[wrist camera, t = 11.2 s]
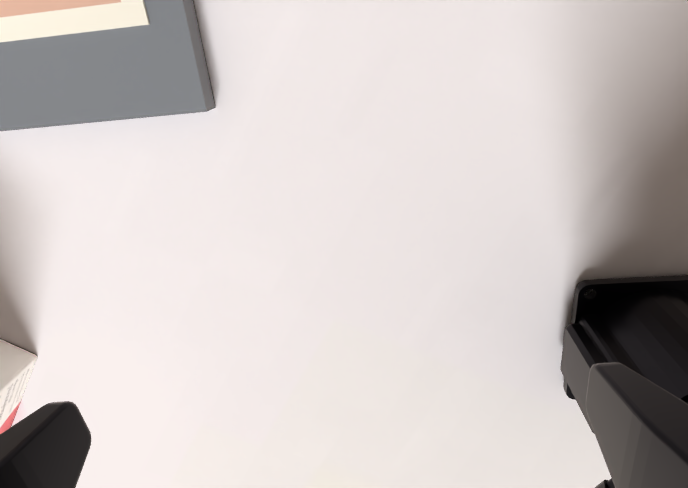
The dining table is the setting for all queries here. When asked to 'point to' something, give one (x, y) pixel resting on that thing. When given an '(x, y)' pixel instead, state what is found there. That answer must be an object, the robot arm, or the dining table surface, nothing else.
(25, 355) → the ink cartridge box
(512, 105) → the dining table surface
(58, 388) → the dining table surface
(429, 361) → the dining table surface
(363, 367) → the dining table surface
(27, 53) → the grey picture frame
